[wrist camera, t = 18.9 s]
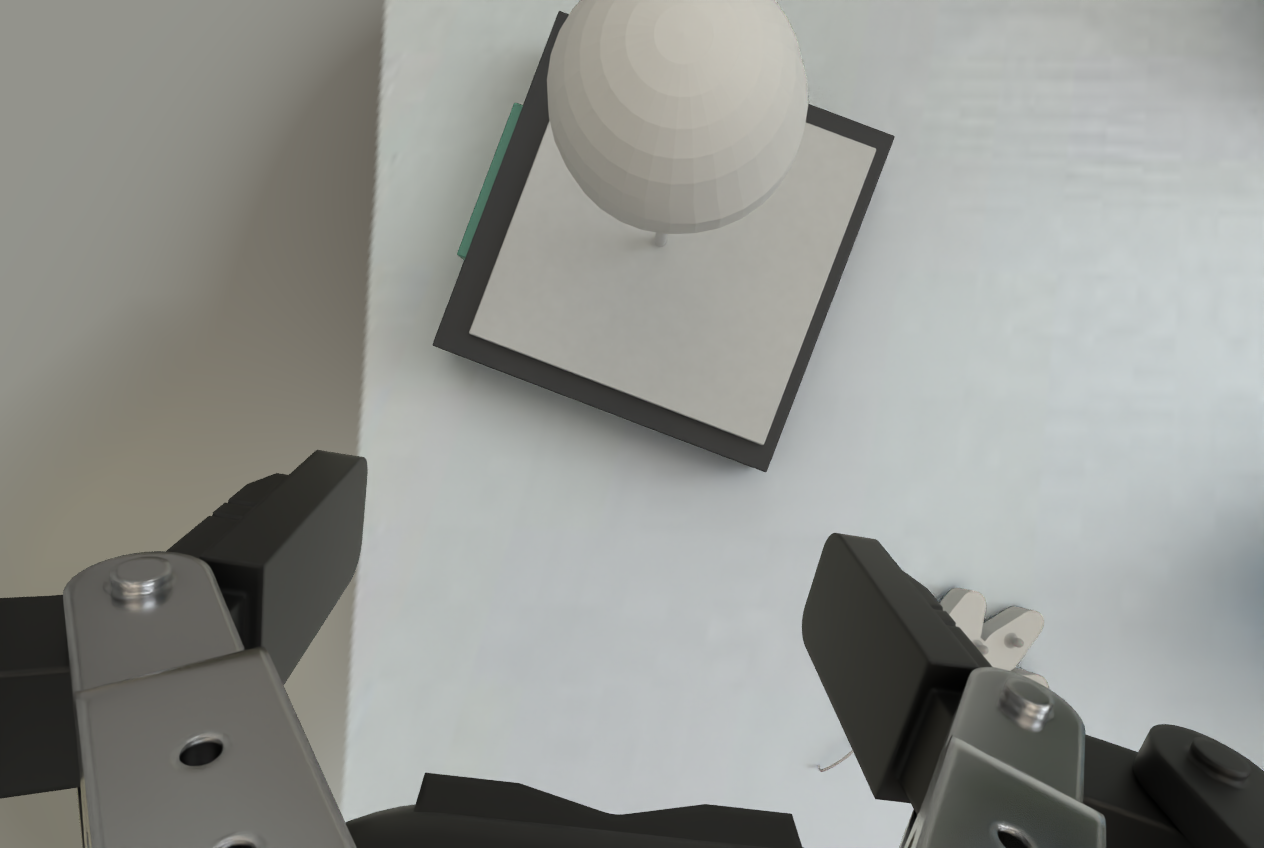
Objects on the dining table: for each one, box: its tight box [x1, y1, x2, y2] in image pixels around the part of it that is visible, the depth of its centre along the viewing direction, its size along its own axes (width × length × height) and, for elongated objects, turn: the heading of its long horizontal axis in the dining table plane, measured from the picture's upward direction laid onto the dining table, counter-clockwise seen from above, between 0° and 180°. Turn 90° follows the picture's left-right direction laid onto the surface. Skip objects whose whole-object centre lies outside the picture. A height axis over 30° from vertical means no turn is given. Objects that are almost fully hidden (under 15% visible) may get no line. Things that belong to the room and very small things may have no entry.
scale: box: [433, 11, 894, 472], centre depth 30 cm, size 16×15×4 cm
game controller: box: [818, 588, 1049, 772], centre depth 30 cm, size 6×12×3 cm, turn 145°
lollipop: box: [547, 0, 808, 247], centre depth 21 cm, size 6×6×15 cm
